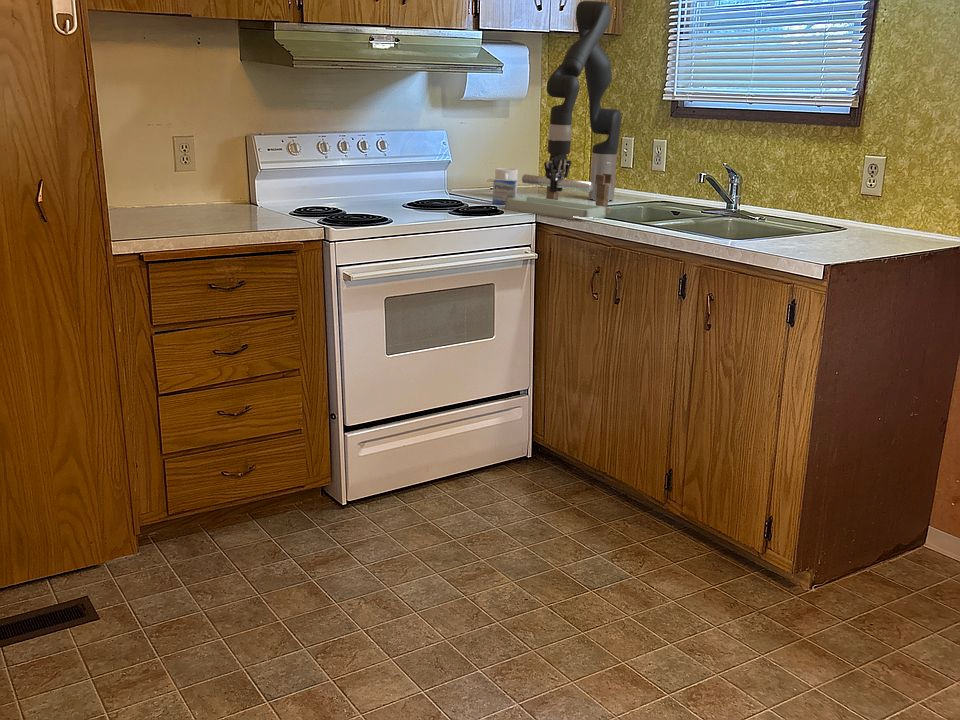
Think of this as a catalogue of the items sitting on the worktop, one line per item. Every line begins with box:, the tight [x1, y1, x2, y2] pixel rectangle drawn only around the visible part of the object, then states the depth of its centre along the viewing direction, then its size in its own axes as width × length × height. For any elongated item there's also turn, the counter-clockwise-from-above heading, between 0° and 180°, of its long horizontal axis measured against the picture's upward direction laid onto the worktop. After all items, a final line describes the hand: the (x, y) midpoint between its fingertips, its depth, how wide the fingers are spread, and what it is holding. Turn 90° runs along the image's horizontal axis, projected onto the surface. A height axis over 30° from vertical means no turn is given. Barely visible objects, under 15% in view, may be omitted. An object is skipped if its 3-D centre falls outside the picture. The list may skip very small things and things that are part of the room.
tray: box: [504, 195, 607, 220], centre depth 311 cm, size 13×32×4 cm, turn 54°
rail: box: [521, 173, 593, 193], centre depth 309 cm, size 3×26×3 cm, turn 54°
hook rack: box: [544, 170, 612, 215], centre depth 321 cm, size 6×24×13 cm, turn 53°
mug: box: [494, 167, 519, 195], centre depth 343 cm, size 12×8×10 cm
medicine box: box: [491, 178, 518, 206], centre depth 326 cm, size 8×4×9 cm, turn 83°
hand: (556, 191), depth 310 cm, fingers closed on rail, 3 cm apart
